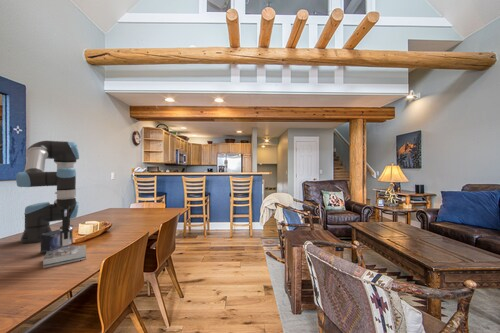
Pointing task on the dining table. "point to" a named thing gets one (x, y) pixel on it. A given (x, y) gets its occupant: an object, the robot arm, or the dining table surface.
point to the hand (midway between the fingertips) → (66, 243)
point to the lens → (70, 234)
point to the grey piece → (64, 255)
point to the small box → (50, 241)
